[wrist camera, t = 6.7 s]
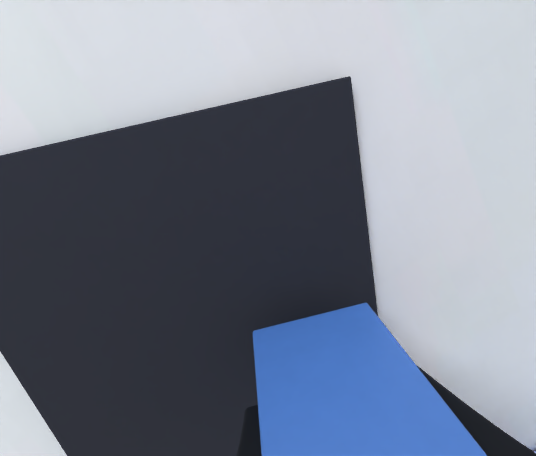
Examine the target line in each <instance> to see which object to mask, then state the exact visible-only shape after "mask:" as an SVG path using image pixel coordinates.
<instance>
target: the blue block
mask: <svg viewBox="0 0 536 456" xmlns="http://www.w3.org/2000/svg"><path fill="white" fill-rule="evenodd" d="M253 347H254V360H255V373H256V387H257V400H258V414H259V427H260V440H261V454H262V456H487V455H486V454H485V452H484V451H483V450H482V449H481V447H480V446H479V445H478V443H477V442H476V441H475V440H474V438H473V437H472V436H471V435H470V433H469V432H468V431H467V429H466V428H465V427H464V426H463V424H462V423H461V422H460V421H459V419H458V418H457V417H456V415H455V414H454V413H453V412H452V410H451V409H450V408H449V407H448V405H447V404H446V403H445V401H444V400H443V399H442V398H441V396H440V395H439V394H438V393H437V391H436V390H435V389H434V387H433V386H432V385H431V384H430V382H429V381H428V380H427V379H426V377H425V376H424V375H423V373H422V372H421V371H420V370H419V368H418V367H417V366H416V365H415V363H414V362H413V361H412V359H411V358H410V357H409V356H408V354H407V353H406V352H405V351H404V349H403V348H402V347H401V345H400V344H399V343H398V342H397V340H396V339H395V338H394V337H393V335H392V334H391V333H390V331H389V330H388V329H387V328H386V326H385V325H384V324H383V322H382V321H381V320H380V319H379V317H378V316H377V315H376V314H375V312H374V311H373V310H372V308H371V307H370V306H369V305H368V303H362V304H358V305H354V306H350V307H346V308H342V309H338V310H334V311H330V312H326V313H322V314H318V315H314V316H310V317H306V318H302V319H298V320H294V321H290V322H286V323H282V324H278V325H274V326H270V327H266V328H262V329H258V330H254V331H253Z"/></svg>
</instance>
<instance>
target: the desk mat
mask: <svg viewBox="0 0 536 456" xmlns="http://www.w3.org/2000/svg"><path fill="white" fill-rule="evenodd" d="M362 303H368V305H369V306H370V307H371V308H372V310H373V311H374V312H375V314H376V315H377V316H378V314H377V305H376V296H375V288H374V279H373V270H372V261H371V252H370V243H369V235H368V226H367V217H366V208H365V199H364V190H363V181H362V173H361V164H360V155H359V146H358V137H357V128H356V120H355V111H354V102H353V93H352V84H351V77H345V78H340V79H336V80H331V81H327V82H323V83H318V84H314V85H309V86H305V87H301V88H296V89H292V90H287V91H283V92H279V93H274V94H270V95H265V96H261V97H257V98H252V99H248V100H243V101H239V102H235V103H230V104H226V105H221V106H217V107H213V108H208V109H204V110H199V111H195V112H191V113H186V114H182V115H177V116H173V117H169V118H164V119H160V120H155V121H151V122H147V123H142V124H138V125H133V126H129V127H125V128H120V129H116V130H111V131H107V132H103V133H98V134H94V135H89V136H85V137H80V138H76V139H72V140H67V141H63V142H58V143H54V144H50V145H45V146H41V147H36V148H32V149H28V150H23V151H19V152H14V153H10V154H6V155H1V156H0V351H1V353H2V354H3V356H4V358H5V359H6V361H7V362H8V364H9V365H10V367H11V369H12V370H13V372H14V373H15V375H16V376H17V378H18V379H19V381H20V383H21V384H22V386H23V387H24V389H25V390H26V392H27V394H28V395H29V397H30V398H31V400H32V401H33V403H34V404H35V406H36V408H37V409H38V411H39V412H40V414H41V415H42V417H43V419H44V420H45V422H46V423H47V425H48V426H49V428H50V429H51V431H52V433H53V434H54V436H55V437H56V439H57V440H58V442H59V444H60V445H61V447H62V448H63V450H64V451H65V453H66V454H67V456H237V452H238V447H239V443H240V438H241V432H242V427H243V421H244V413H245V410H246V409H247V407H251V406H255V405H258V400H257V387H256V373H255V360H254V347H253V331H254V330H258V329H262V328H266V327H270V326H274V325H278V324H282V323H286V322H290V321H294V320H298V319H302V318H306V317H310V316H314V315H318V314H322V313H326V312H330V311H334V310H338V309H342V308H346V307H350V306H354V305H358V304H362Z"/></svg>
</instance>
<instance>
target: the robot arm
mask: <svg viewBox="0 0 536 456" xmlns="http://www.w3.org/2000/svg"><path fill="white" fill-rule="evenodd" d="M416 366H417V365H416ZM417 367H418V366H417ZM418 368H419V367H418ZM419 370H420V371H421V372H422V373H423V375H424V376H425V377H426V379H427V380H428V381H429V382H430V384H431V385H432V386H433V387H434V389H435V390H436V391H437V393H438V394H439V395H440V396H441V398H442V399H443V400H444V401H445V403H446V404H447V405H448V407H449V408H450V409H451V410H452V412H453V413H454V414H455V415H456V417H457V418H458V419H459V421H460V422H461V423H462V424H463V426H464V427H465V428H466V429H467V431H468V432H469V433H470V435H471V436H472V437H473V438H474V440H475V441H476V442H477V443H478V445H479V446H480V447H481V449H482V450H483V451H484V452H485V454H486V455H487V456H536V451H534V452H533V451H531V450H530V449H529V448H527V447H526V446H524V445H523V444H521V443H520V442H518V441H517V440H515V439H514V438H512V437H511V436H509V435H508V434H507V433H505V432H504V431H502V430H501V429H500V428H498V427H497V426H495V425H494V424H493V423H491V422H490V421H488V420H487V419H486V418H484V417H483V416H482V415H480V414H479V413H477V412H476V411H475V410H473V409H472V408H471V407H469V406H468V405H467V404H465V403H464V402H463V401H461V400H460V399H459V398H457V397H456V396H455V395H454V394H452V393H451V392H450V391H448V390H447V389H446V388H445V387H443V386H442V385H441V384H439V383H438V382H437V381H436V380H434V379H433V378H432V377H431V376H429V375H428V374H427V373H426V372H424V371H423V370H422V369H421V368H419ZM237 456H262V454H261V440H260V427H259V414H258V405H255V406H251V407H247V409H246V410H245V413H244V421H243V427H242V432H241V438H240V443H239V447H238V452H237Z"/></svg>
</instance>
